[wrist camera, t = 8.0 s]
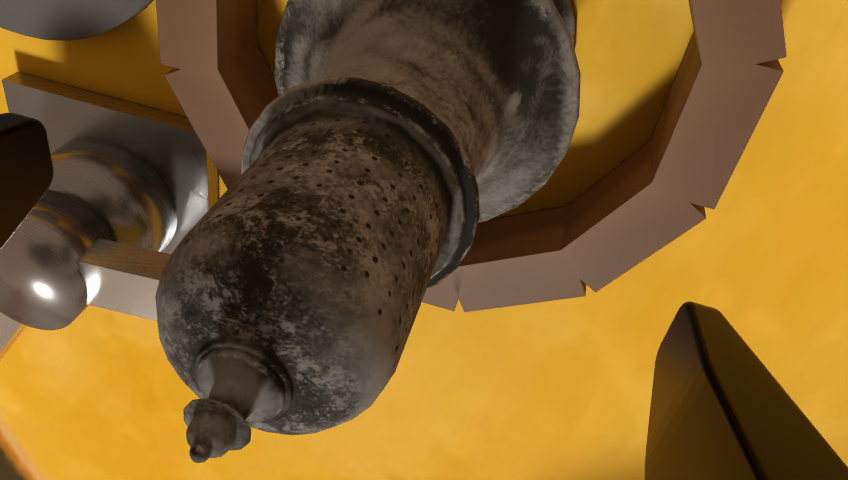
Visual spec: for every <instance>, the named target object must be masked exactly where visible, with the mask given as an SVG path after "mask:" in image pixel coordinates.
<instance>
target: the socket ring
mask: <svg viewBox="0 0 848 480" xmlns="http://www.w3.org/2000/svg"><path fill="white" fill-rule="evenodd" d="M689 5H690V11H691V17H692V23H693V29H694V32H693V35H692V37H691V40H690V42H689V45H688V47H687V50H686V52H685V55H684V57H683V60H682V62H681V64H680V67H679V69H678V72H677V74H676V77H675V79H674V82H673V84H672V87H671V89H670V92H669V94H668V97H667V99H666V102H665V104H664V107H663V109H662V112H661V114H660V116H659V119H658V121H657V124H656V126H655V129H654V131H653V134H652V136H651V139H650V141H649V142H647V143H646V144H645V145H644V146H642V147H641V148H640V149H638V150H637V151H636V152H635V153H633V154H632V155H631V156H630V157H628V158H627V159H626V160H625V161H623V162H622V163H621V164H619V165H618V166H617V167H616V168H614V169H613V170H612V171H611V172H609V173H608V174H607V175H605V176H604V177H603V178H602V179H600V180H599V181H598V182H597V183H595V184H594V185H593V186H591V187H590V188H589V189H588V190H586V191H585V192H584V193H583V194H581V195H580V196H579V197H577V198H576V199H575V200H574V201H572V202H571V203H570V204H569V205H567V206H563V207H558V208H552V209H547V210H541V211H536V212H530V213H525V214H520V215H514V216H509V217H503V218H498V219H492V220H487V221H484V222H478V224H477V228H476V232H475V236H474V240H473V243H472V246H471V248H470V249H469V251H468V252H467V254H466V255H465V257H464V258H463V260H462V262H461V263H460V265H459V266H458V268H457V269H456V270H454V271H453V272H452V273H451V274H449V275H448V276H447V277H446V278H445V279H443V280H442V281H441V282H440V283H439V284H437V285H435V286H433V287H430V288H428V289H426V292H425V294H424V297H423V300H422V302H424V303H427V304H431V305H434V306H438V307H441V308H445V309H448V310H452V311H455V307H456V304H457V301H458V298H459V300H460V302H461V305H462V307H463V310H464V312H469V311H477V310H484V309H492V308H499V307H507V306H514V305H522V304H530V303H537V302H545V301H552V300H560V299H567V298H575V297H582V296H585V293H586V285H588V286H589V287H590V288H591V289H592V290H593V291H594V292H597V291H598V290H600V289H601V288H603V287H604V286H606V285H607V284H609V283H610V282H612V281H613V280H615V279H616V278H618V277H619V276H621V275H622V274H624V273H625V272H627V271H628V270H630V269H631V268H633V267H634V266H636V265H637V264H639V263H640V262H642V261H643V260H645V259H646V258H648V257H649V256H651V255H652V254H654V253H655V252H657V251H658V250H660V249H661V248H663V247H664V246H666V245H667V244H669V243H670V242H672V241H673V240H674V239H676V238H677V237H679V236H680V235H682V234H683V233H685V232H686V231H688V230H689V229H691V228H692V227H694V226H695V225H697V224H698V223H700V222H701V221H703V220H704V219H706V215H705V209H704V207H708V208H711V209H715V207H716V205H717V203H718V201H719V199H720V197H721V195H722V193H723V191H724V189H725V187H726V185H727V183H728V181H729V179H730V177H731V175H732V173H733V171H734V169H735V167H736V165H737V163H738V161H739V159H740V157H741V155H742V153H743V151H744V149H745V147H746V145H747V143H748V141H749V139H750V137H751V135H752V133H753V131H754V129H755V127H756V125H757V123H758V121H759V119H760V117H761V115H762V113H763V111H764V109H765V107H766V105H767V103H768V101H769V99H770V97H771V95H772V93H773V91H774V89H775V87H776V85H777V83H778V81H779V79H780V77H781V75H782V73H783V69H782V67H781V65H780V63H779V61H778V59H780V58H784V57H786V48H785V39H784V29H783V20H782V10H781V0H689ZM156 8H157V21H158V35H159V49H160V63H161V64H163V65H167V66H170V67H174V69H173V70H171V71H170V72H168V73H167V74H165V75H164V76H165V78H166V80H167V81H168V83H169V85H170V87H171V89H172V90H173V92H174V94H175V96H176V97H177V99H178V101H179V103H180V105H181V106H182V108H183V110H184V112H185V114H186V115H187V117H188V119H189V121H190V123H191V124H192V126H193V128H194V130H195V132H196V133H197V135H198V137H199V139H200V141H201V142H202V144H203V146H204V148H205V149H206V151H207V153H208V155H209V157H210V158H211V160H212V162H213V164H214V166H215V167H216V169H217V171H218V173H219V175H220V176H221V178H222V180H223V182H224V184H225V185H226V187H227V189H229V188H230V187H231V186H232V185H233V184H234V183H235V182H236V180H237V179H238V178H239V177H240V176H241V165H242V151H243V148H244V145H245V142H246V139H247V136H248V133H249V129H250V127H251V126H252V125H253V123H254V122H255V121H256V119H257V118H258V116H259V115H260V114H261V112H262V111H263V110H264V108H265V107H266V106H267V105H268V104H269V103H270V102H272V101H273V100H274V99H276V98H277V97H279V95H278V91H277V86H276V82H275V79H274V77H273V75H272V73H271V70H270V68H269V66H268V64H267V62H266V60H265V58H264V56H263V54H262V52H261V50H260V47H259V45H258V43H257V41H256V9H257V0H156Z"/></svg>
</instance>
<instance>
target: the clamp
mask: <svg viewBox="0 0 848 480" xmlns="http://www.w3.org/2000/svg"><path fill="white" fill-rule="evenodd" d="M170 255H171V254H168V253H163V252H159V251H154V250H150V249H145V248H141V247H136V246H132V245H127V244H123V243H118V242H116V241H115V239H114V237H113V235H112V234H111V232H110V231H109V229H108V228H107V226H106V225H105V224H104V223H103V222H102V220H101V219H100V218H99V217H98V216H97V215H96V214H95V213H94V212H92V211H91V210H90V209H89V208H88V207H86V206H85V205H84V204H82V203H81V202H79V201H77V200H76V199H74V198H72V197H70V196H68V195H66V194H63V193H60V192H57V191H54V190H49V189H48V190H47V191H46V193H45V194H44V195H43V196H42V198H41V199H40V200H39V202H38V203H37V204H36V205H35V207H34V208H33V209H32V211H31V212H30V213H29V215H28V216H27V217H26V218H25V220H24V221H23V222H22V224H21V225H20V226H19V227H18V229H17V230H16V231H15V233H14V234H13V235H12V237H11V238H10V239H9V240H8V242H7V243H6V244H5V246H4V247H3V248H2V249H1V251H0V361H1V359H2V358H3V357H4V355H5V354H6V353H7V351H8V350H9V349H10V348H11V346H12V345H13V344H14V342H15V341H16V340H17V338H18V337H19V336H20V335H21V333H22V332H23V331H24V329H25V328H26V327H27V326H29V327H33V328H37V329H42V330H56V329H61V328H64V327H66V326H68V325H69V324H70V323H71V322H72V321H73V320H74V319H75V318H76V317H77V316H78V315H79V314H80V313H81V312H82V311H83V310H84V309H85V308H86V307H87V306H88V305H92V306H96V307H100V308H104V309H108V310H113V311H117V312H121V313H125V314H129V315H133V316H138V317H142V318H146V319H150V320H154V321H157V311H156V299H155V295H156V291H157V287H158V284H159V280H160V276H161V273H162V271H163V269H164V267H165V265H166V263H167V261H168V259H169V257H170Z"/></svg>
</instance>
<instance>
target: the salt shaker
mask: <svg viewBox="0 0 848 480" xmlns="http://www.w3.org/2000/svg"><path fill="white" fill-rule="evenodd" d="M574 43H575V15H574V11H573V7H572V3H571V0H288V2H287V5H286V8H285V11H284V14H283V17H282V20H281V24H280V27H279V30H278V33H277V36H276V45H275V72H274V77H275V82H276V86H277V91H278V95H279V97H277V98H276V99H274V100H273V101H272V102H270V103H269V104H268V105H267V106H266V107H265V108H264V110H263V111H262V112H261V114H260V115H259V116H258V118H257V119H256V121H255V122H254V123H253V125H252V126H251V127H250V129H249V133H248V136H247V139H246V142H245V145H244V148H243V151H242V165H241V176H240V177H239V178H238V179H237V180H236V182H235V183H234V184H233V185H232V186H231V187H230V188H229V189H228V190H227V191H226V192H225V193H224V194H223V195H222V197H221V198H220V199H219V200H218V201H217V202H216V203H215V204H214V205H213V206H212V207H211V208H210V209H209V211H208V212H207V213H206V214H205V215H204V216H203V217H202V218H201V219H200V220H199V221H198V222H197V223H196V224H195V226H194V227H193V228H192V229H191V230H190V231H189V232H188V233H187V234H186V235H185V236H184V238H183V239H182V240H181V242H180V243H179V244H178V246H177V247H176V248H175V250H174V251H173V252H172V254H171V255H170V257H169V259H168V261H167V263H166V265H165V267H164V269H163V271H162V273H161V276H160V280H159V284H158V287H157V291H156V295H155V299H156V311H157V321H158V329H159V337H160V341H161V343H162V346H163V348H164V351H165V354H166V356H167V359H168V361H169V362H170V364H171V365H172V366H173V368H174V369H175V371H176V372H177V374H178V375H179V377H180V378H181V380H182V381H183V382H184V383H185V384H186V385H187V386H188V387H189V388H190V389H191V390H192V391H193V392H194V393H195V394H196V395H197V396H198V397H199V398H200V399H196V400H192V401H191V402H190V403H189V404H188V405H187V406H186V407H185V408H184V422H185V423H186V425H187V426H188V428H187V432H186V436H187V441H188V444H189V445H190V447H191V449H190V456H191V459H192V460H193V461H194V462H196V463H201V462H205V461H206V460H207V459H208V458H216V457H222V456H223V455H224V454H225V453H226V452H227V451H228V450H240V449H242V448H243V447H244V446H246V445H247V444H248V443H249V442H250V439H251V428H250V427H252V428H255V429H259V430H262V431H266V432H272V433H280V434H287V435H299V434H313V433H317V432H320V431H323V430H326V429H329V428H332V427H334V426H337V425H339V424H342V423H344V422H347V421H349V420H352V419H354V418H355V417H356V416H358V415H359V414H361V413H362V412H363V411H365V410H366V409H367V408H369V407H370V406H371V405H372V404H373V402H374V401H375V400H376V398H377V397H378V396H379V394H380V393H381V392H382V390H383V389H384V388H385V386H386V384H387V383H388V381H389V380H390V378H391V377H392V375H393V374H394V372H395V370H396V368H397V365H398V363H399V360H400V357H401V355H402V352H403V349H404V347H405V344H406V342H407V339H408V336H409V334H410V331H411V328H412V326H413V323H414V321H415V318H416V315H417V313H418V310H419V307H420V305H421V302H422V300H423V297H424V294H425V292H426V289H428V288H430V287H433V286H435V285H437V284H439V283H440V282H441V281H442V280H443V279H445V278H446V277H447V276H448V275H449V274H451V273H452V272H453V271H454V270H456V269H457V268H458V266H459V265H460V263H461V262H462V260H463V258H464V257H465V255H466V254H467V252H468V251H469V249H470V248H471V246H472V243H473V240H474V236H475V232H476V228H477V224H478V222H484V221H487V220H490V219H492V218H494V217H496V216H498V215H501V214H503V213H505V212H507V211H509V210H512V209H514V208H516V207H518V206H519V205H521V204H522V203H523V202H524V201H525V200H527V199H528V198H529V197H530V196H531V195H533V194H534V193H535V192H536V191H538V190H539V189H540V188H541V187H542V186H544V185H545V184H546V183H547V181H548V180H549V178H550V177H551V175H552V174H553V172H554V171H555V170H556V168H557V167H558V165H559V164H560V162H561V161H562V159H563V158H564V157H565V155H566V154H567V151H568V148H569V145H570V142H571V139H572V136H573V133H574V130H575V127H576V124H577V121H578V118H579V102H580V70H579V66H578V62H577V58H576V54H575V50H574Z"/></svg>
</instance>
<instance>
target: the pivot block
mask: <svg viewBox="0 0 848 480" xmlns="http://www.w3.org/2000/svg"><path fill="white" fill-rule="evenodd" d="M2 83H3V87H4V92H5V96H6V101H7V105H8V110H9V113H16V114H20V115H24V116H27V117H31V118H34V119H37V120H39V121H40V122H42V124H43V125H44V127H45V128H46V132H47V137H48V142H49V148H50V153H51V158H52V164H53V170H54V174H53V180H52V183H51V185H50V187H49V190H54V191H57V192H60V193H63V194H66V195H68V196H70V197H72V198H74V199H76V200H77V201H79V202H81V203H82V204H84V205H85V206H86V207H88V208H89V209H90V210H91V211H92V212H94V213H95V214H96V215H97V216H98V217H99V218H100V219H101V220H102V222H103V223H104V224H105V225H106V226H107V228H108V229H109V231H110V232H111V234H112V235H113V237H114V239H115V241H116V242H118V243H123V244H127V245H132V246H136V247H141V248H145V249H150V250H154V251H159V252H163V253H168V254H172V252H173V251H174V250H175V248H176V247H177V246H178V244H179V243H180V242H181V240H182V239H183V238H184V236H185V235H186V234H187V233H188V232H189V231H190V230H191V229H192V228H193V227H194V226H195V224H196V223H197V222H198V221H199V220H200V219H201V218H202V217H203V216H204V215H205V214H206V213H207V212H208V211H209V209H210V208H211V207H212V206H213V205H214V204H215V203H216V202H217V201H218V171H217V169H216V167H215V166H214V164H213V162H212V160H211V158H210V157H209V155H208V153H207V151H206V149H205V148H204V146H203V144H202V142H201V141H200V139H199V137H198V135H197V133H196V132H195V130H194V128H193V126H192V124H191V123H190V121H189V119H188V118H186V117H183V116H179V115H175V114H172V113H168V112H164V111H160V110H157V109H153V108H149V107H146V106H142V105H138V104H135V103H131V102H127V101H123V100H120V99H116V98H112V97H109V96H105V95H101V94H97V93H94V92H90V91H86V90H83V89H79V88H75V87H71V86H68V85H64V84H60V83H57V82H53V81H49V80H45V79H42V78H38V77H34V76H31V75H27V74H23V73H20V72H16V73H14V74H12V75H10V76H8V77H6V78H4V79H3V80H2Z"/></svg>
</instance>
